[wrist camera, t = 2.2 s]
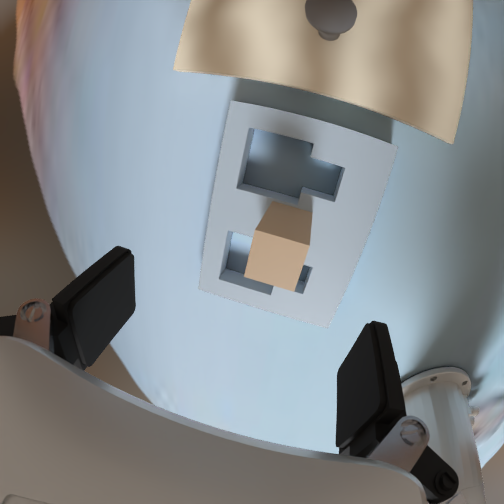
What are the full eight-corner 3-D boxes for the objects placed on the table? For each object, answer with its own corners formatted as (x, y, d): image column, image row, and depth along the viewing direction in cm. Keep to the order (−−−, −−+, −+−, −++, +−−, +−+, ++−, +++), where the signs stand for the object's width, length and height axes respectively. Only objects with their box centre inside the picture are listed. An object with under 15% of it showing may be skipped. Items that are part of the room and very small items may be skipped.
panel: (391, 144, 19) (428, 156, 12) (328, 314, 26) (326, 379, 19) (238, 102, 20) (196, 92, 13) (205, 278, 27) (168, 330, 20)
